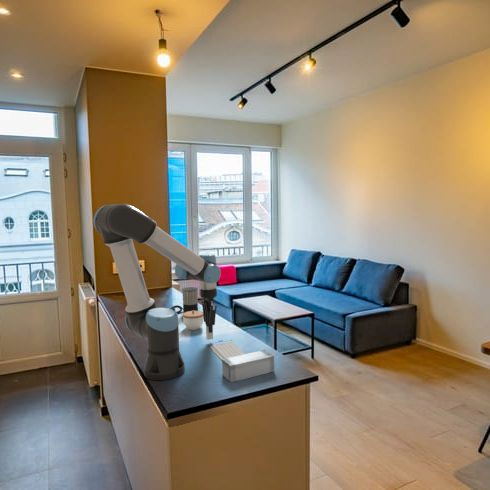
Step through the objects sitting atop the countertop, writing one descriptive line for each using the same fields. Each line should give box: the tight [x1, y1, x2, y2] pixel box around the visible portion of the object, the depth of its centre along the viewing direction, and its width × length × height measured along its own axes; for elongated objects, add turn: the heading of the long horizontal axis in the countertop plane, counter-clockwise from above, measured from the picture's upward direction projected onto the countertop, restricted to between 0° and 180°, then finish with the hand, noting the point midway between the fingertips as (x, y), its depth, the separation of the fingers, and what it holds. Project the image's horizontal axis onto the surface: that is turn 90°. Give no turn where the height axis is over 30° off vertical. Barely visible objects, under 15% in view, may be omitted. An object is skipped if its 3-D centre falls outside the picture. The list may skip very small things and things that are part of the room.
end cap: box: [221, 349, 275, 383], centre depth 143 cm, size 18×7×6 cm, turn 117°
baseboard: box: [209, 339, 246, 361], centre depth 158 cm, size 31×3×12 cm
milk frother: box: [169, 286, 199, 314], centre depth 226 cm, size 14×16×15 cm
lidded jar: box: [182, 310, 204, 331], centre depth 198 cm, size 11×11×9 cm
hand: (209, 338), depth 176 cm, fingers closed
